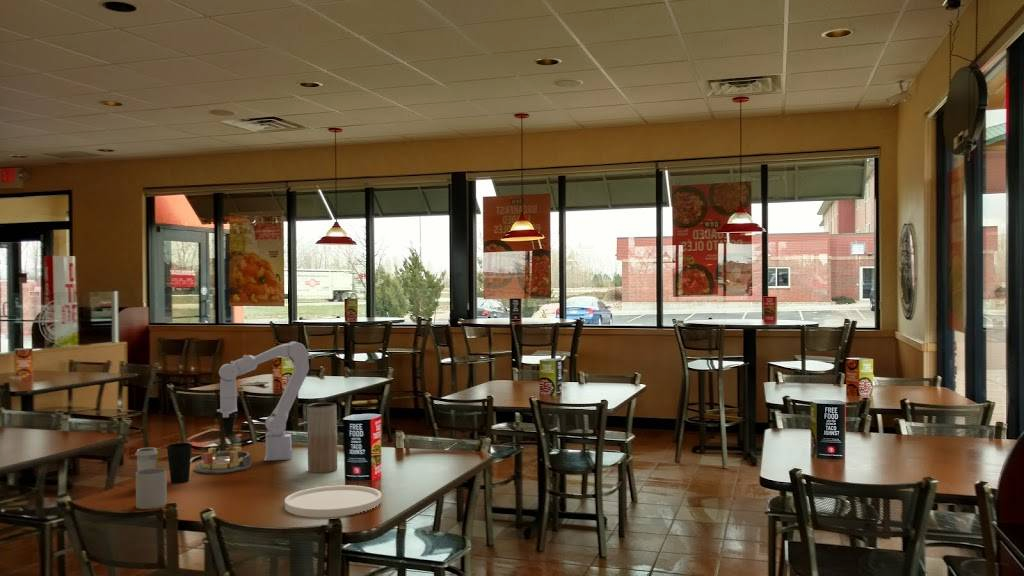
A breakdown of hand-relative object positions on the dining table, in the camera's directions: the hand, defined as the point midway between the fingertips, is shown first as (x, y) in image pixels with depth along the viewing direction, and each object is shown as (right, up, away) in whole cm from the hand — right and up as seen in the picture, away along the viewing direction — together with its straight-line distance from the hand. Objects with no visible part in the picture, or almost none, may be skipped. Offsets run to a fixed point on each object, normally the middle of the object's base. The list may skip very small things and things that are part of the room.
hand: (229, 434), depth 305 cm
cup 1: (-15, -11, -34) cm, 39 cm away
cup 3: (-7, -11, -28) cm, 31 cm away
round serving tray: (+1, -10, -8) cm, 13 cm away
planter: (+37, -10, -13) cm, 41 cm away
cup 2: (-3, -11, -58) cm, 59 cm away
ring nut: (+1, -9, -8) cm, 12 cm away
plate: (+51, -11, -59) cm, 78 cm away
